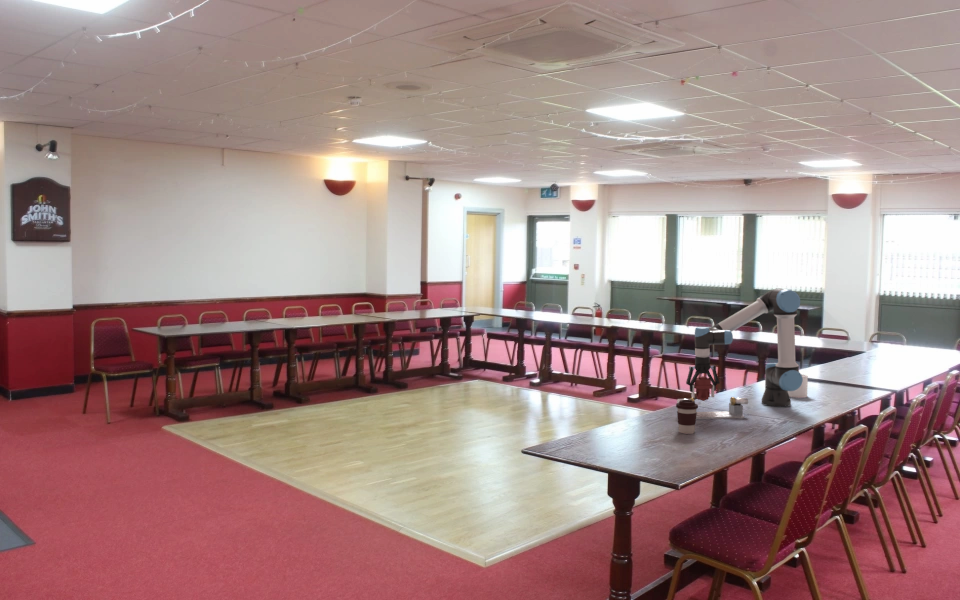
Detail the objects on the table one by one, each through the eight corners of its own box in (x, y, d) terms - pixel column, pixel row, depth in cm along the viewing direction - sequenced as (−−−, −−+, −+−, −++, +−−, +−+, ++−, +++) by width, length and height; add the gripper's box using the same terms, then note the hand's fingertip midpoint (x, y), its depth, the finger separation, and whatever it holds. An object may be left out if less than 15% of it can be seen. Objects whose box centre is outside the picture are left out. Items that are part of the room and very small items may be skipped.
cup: (781, 395, 441) (782, 375, 440) (791, 393, 449) (791, 373, 448) (801, 398, 432) (802, 378, 432) (810, 395, 440) (811, 375, 439)
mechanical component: (711, 397, 407) (713, 401, 397) (692, 397, 409) (694, 401, 399) (711, 375, 406) (713, 378, 396) (692, 375, 408) (693, 378, 398)
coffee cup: (701, 432, 356) (701, 400, 355) (690, 436, 349) (691, 404, 348) (682, 428, 363) (683, 398, 362) (671, 432, 356) (672, 401, 355)
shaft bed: (742, 413, 396) (742, 394, 395) (751, 418, 384) (751, 399, 383) (674, 414, 395) (674, 395, 394) (681, 419, 383) (681, 400, 382)
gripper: (720, 354, 405) (721, 395, 407) (679, 355, 405) (679, 396, 406) (725, 356, 398) (726, 397, 400) (683, 357, 397) (684, 399, 399)
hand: (702, 397), depth 403 cm, fingers closed on mechanical component, 10 cm apart
